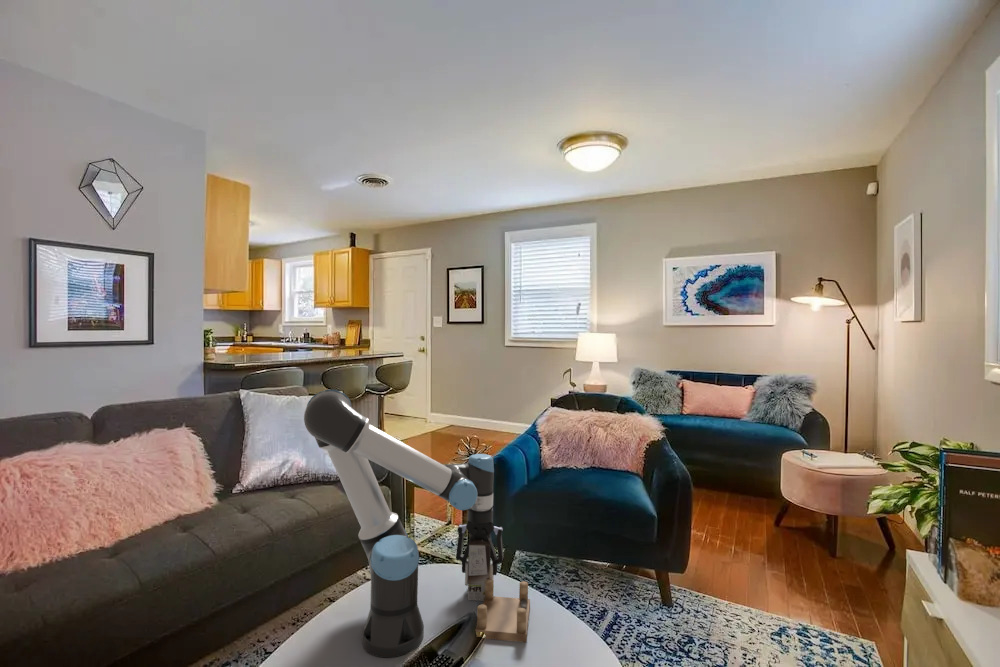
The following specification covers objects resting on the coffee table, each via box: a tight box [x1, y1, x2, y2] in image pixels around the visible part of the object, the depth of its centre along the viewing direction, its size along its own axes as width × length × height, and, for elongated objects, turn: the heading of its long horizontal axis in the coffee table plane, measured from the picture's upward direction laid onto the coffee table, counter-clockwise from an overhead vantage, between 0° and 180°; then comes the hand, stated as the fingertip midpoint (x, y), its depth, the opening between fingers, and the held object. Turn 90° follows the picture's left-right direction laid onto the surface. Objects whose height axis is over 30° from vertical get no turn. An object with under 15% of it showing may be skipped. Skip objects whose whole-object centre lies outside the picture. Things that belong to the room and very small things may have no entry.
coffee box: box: [467, 533, 492, 602], centre depth 138 cm, size 9×6×16 cm
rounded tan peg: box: [518, 581, 529, 605], centre depth 129 cm, size 5×2×5 cm, turn 177°
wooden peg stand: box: [474, 579, 531, 643], centre depth 124 cm, size 13×16×7 cm
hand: (479, 584), depth 138 cm, fingers closed on coffee box, 7 cm apart
